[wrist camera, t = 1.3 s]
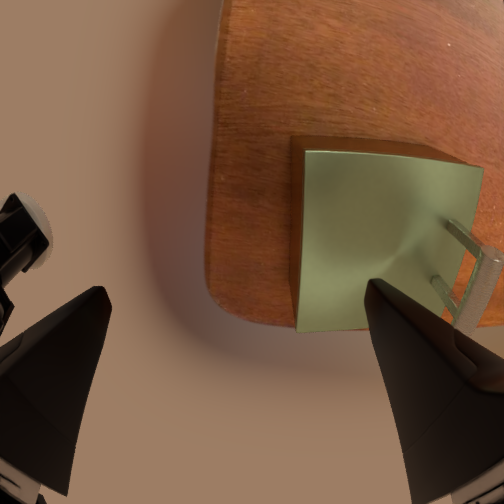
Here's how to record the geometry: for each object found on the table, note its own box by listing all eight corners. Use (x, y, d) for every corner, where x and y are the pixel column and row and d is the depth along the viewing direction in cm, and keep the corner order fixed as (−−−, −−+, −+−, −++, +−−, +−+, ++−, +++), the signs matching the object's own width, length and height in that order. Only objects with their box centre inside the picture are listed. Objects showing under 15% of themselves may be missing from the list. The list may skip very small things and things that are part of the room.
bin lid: (478, 165, 13) (540, 199, 8) (437, 314, 19) (467, 367, 14) (302, 148, 13) (329, 178, 8) (295, 327, 19) (303, 396, 14)
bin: (428, 145, 17) (469, 163, 13) (404, 276, 23) (429, 314, 19) (290, 135, 18) (302, 148, 13) (288, 281, 24) (295, 326, 19)
